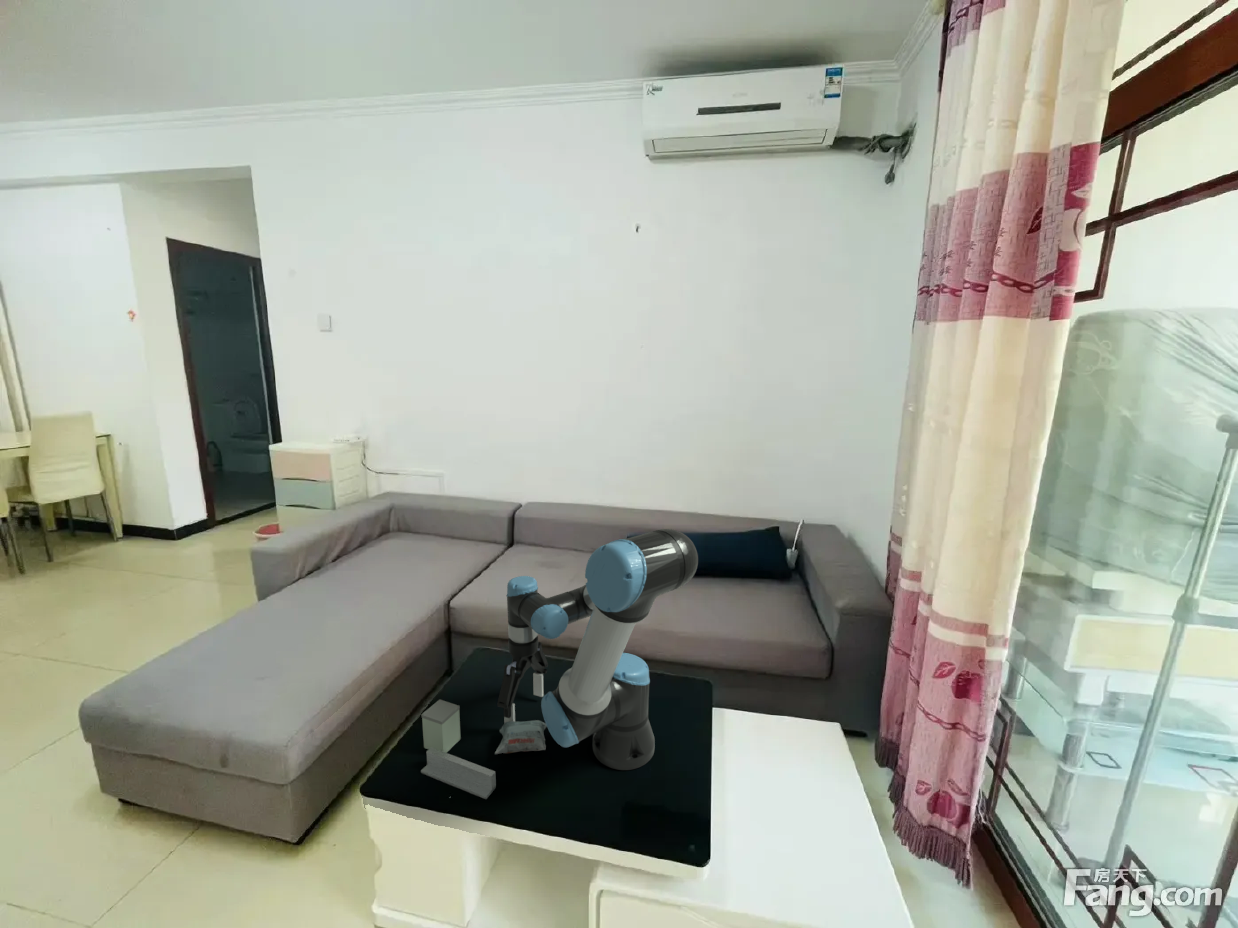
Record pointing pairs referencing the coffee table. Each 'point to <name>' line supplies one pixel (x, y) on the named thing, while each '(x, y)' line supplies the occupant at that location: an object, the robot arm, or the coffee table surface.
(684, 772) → the coffee table surface
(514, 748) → the packaged food
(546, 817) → the coffee table surface
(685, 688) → the coffee table surface
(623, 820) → the coffee table surface
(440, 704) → the tea tin
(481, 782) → the rail
